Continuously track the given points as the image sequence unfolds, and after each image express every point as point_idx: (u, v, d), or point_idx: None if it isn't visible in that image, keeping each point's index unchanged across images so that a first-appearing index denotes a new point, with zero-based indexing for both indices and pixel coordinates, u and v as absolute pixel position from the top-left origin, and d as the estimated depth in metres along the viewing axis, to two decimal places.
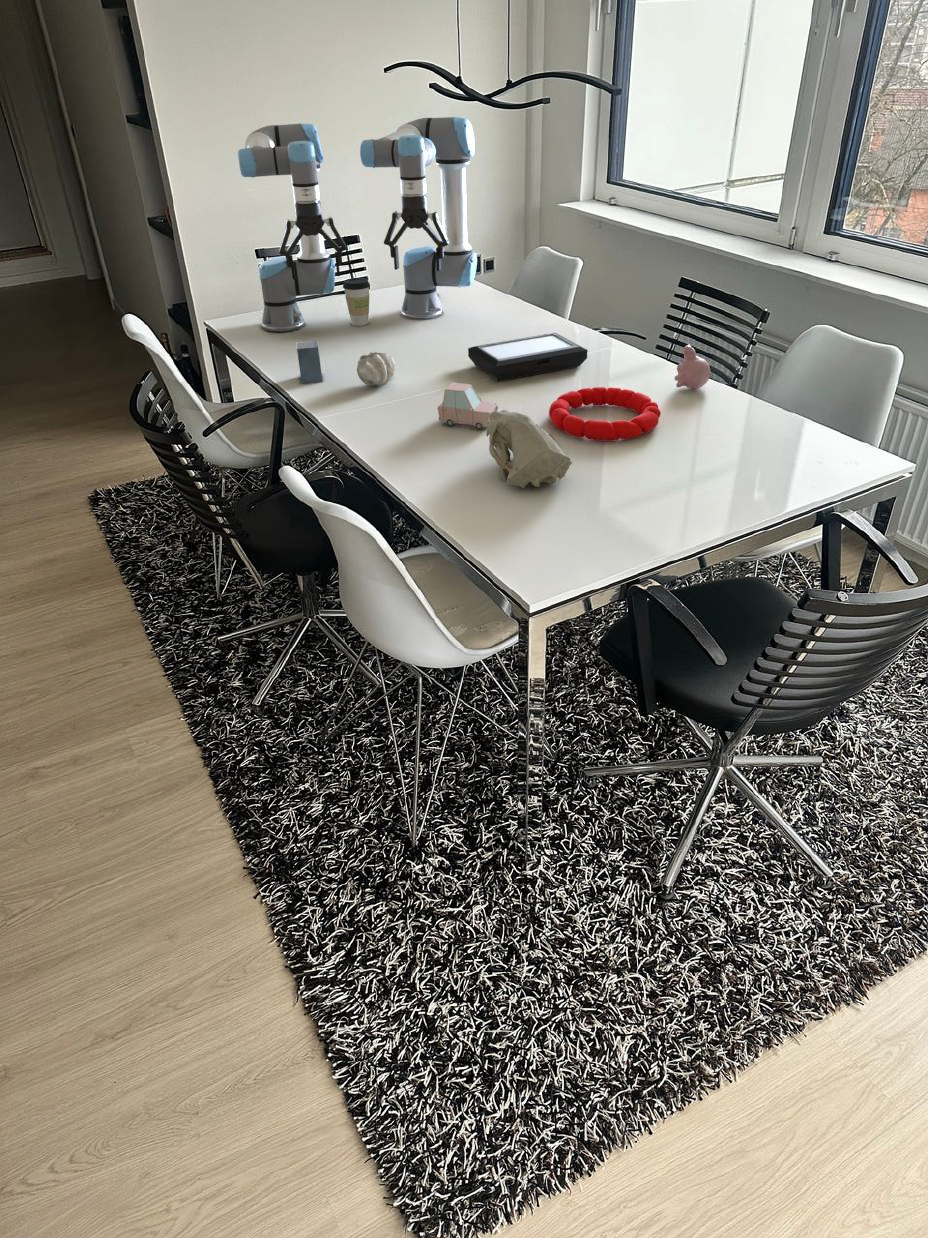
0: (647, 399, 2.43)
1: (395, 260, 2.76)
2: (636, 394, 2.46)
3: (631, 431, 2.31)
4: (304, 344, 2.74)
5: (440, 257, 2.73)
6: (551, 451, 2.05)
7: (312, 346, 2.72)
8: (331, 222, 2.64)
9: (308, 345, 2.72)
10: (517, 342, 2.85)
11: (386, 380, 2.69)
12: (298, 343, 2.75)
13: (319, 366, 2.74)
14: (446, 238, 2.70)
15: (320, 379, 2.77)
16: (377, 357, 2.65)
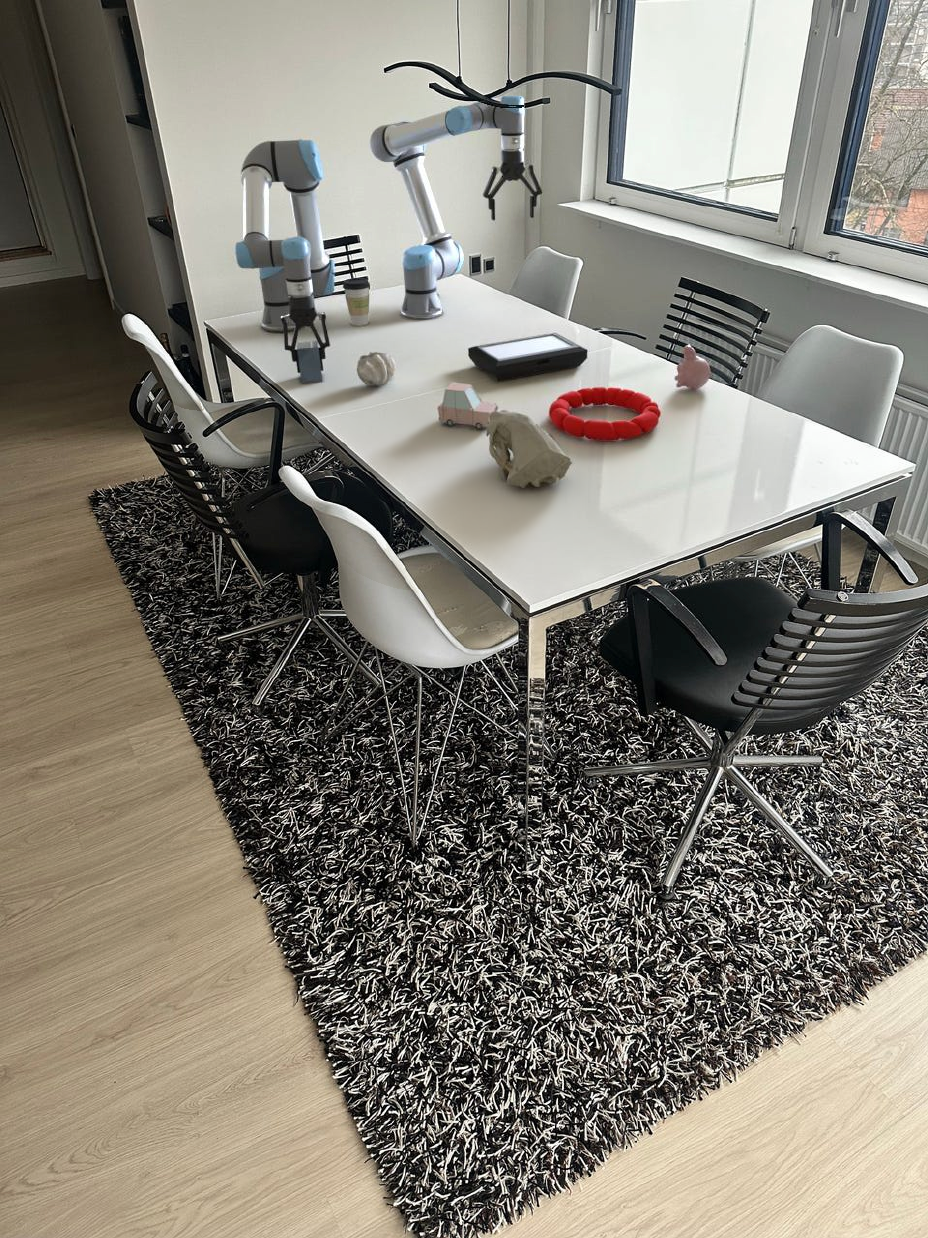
0: (647, 399, 2.43)
1: (494, 211, 3.04)
2: (636, 394, 2.46)
3: (631, 431, 2.31)
4: (304, 344, 2.74)
5: (534, 205, 3.06)
6: (551, 451, 2.05)
7: (312, 346, 2.72)
8: (323, 318, 2.69)
9: (308, 345, 2.72)
10: (517, 342, 2.85)
11: (386, 380, 2.69)
12: (298, 343, 2.75)
13: (319, 366, 2.74)
14: (539, 187, 3.04)
15: (320, 379, 2.77)
16: (377, 357, 2.65)
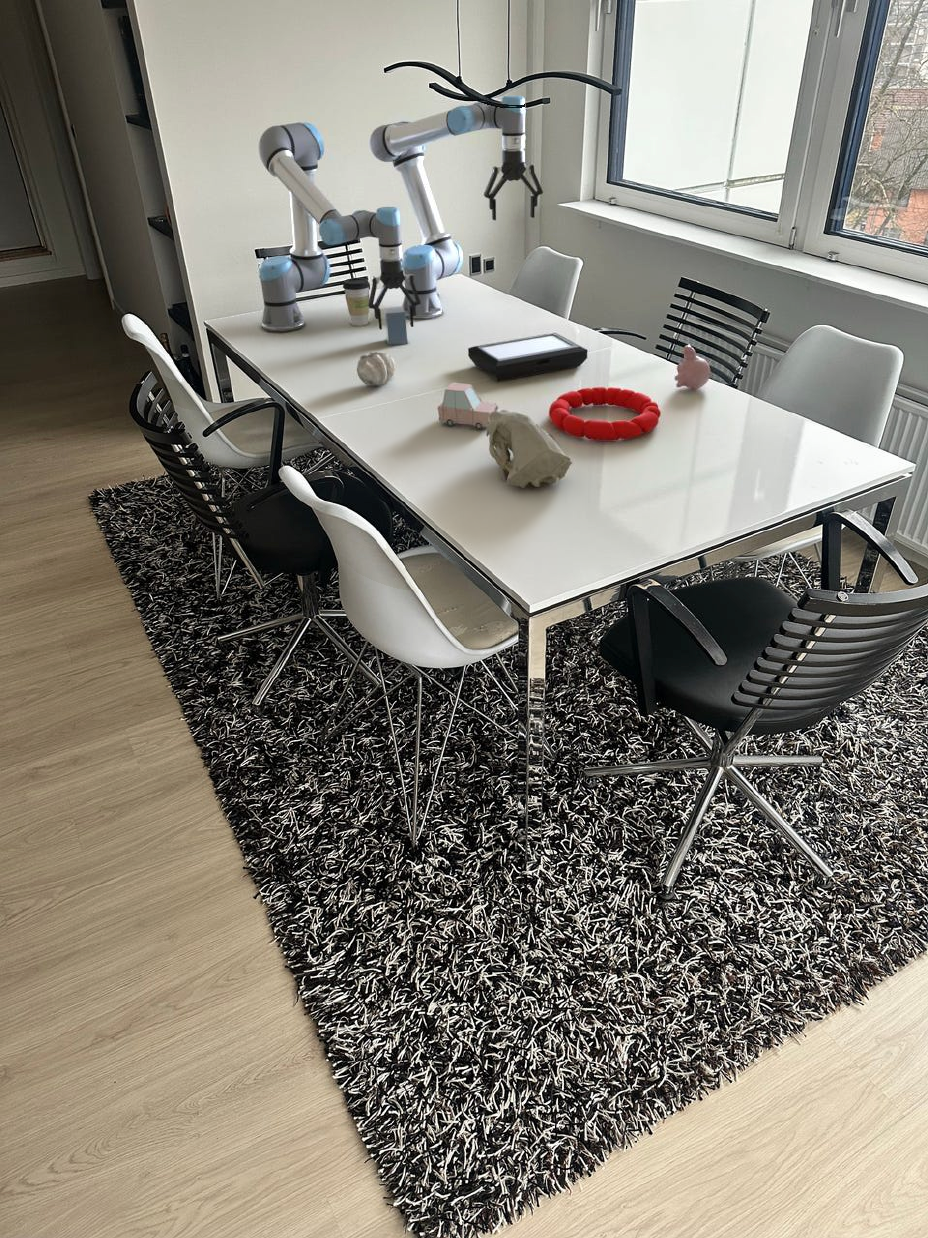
0: (647, 399, 2.43)
1: (495, 211, 3.05)
2: (636, 394, 2.46)
3: (631, 431, 2.31)
4: (392, 309, 3.02)
5: (535, 205, 3.07)
6: (551, 451, 2.05)
7: (399, 311, 3.00)
8: (411, 278, 2.96)
9: (396, 310, 3.01)
10: (517, 342, 2.85)
11: (386, 380, 2.69)
12: (386, 308, 3.03)
13: (405, 329, 3.03)
14: (540, 187, 3.04)
15: (405, 341, 3.05)
16: (377, 357, 2.65)
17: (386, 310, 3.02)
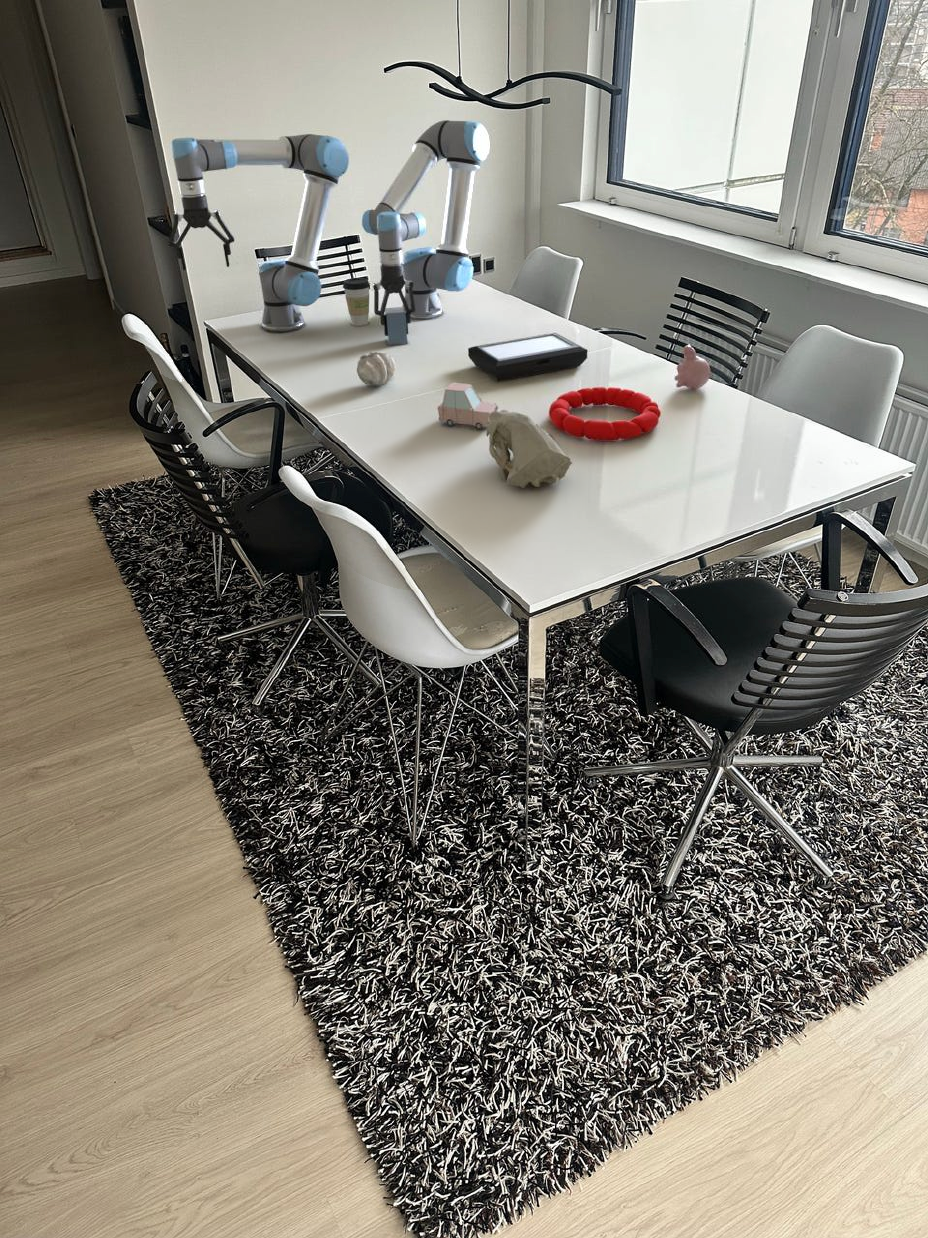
0: (647, 399, 2.43)
1: (386, 327, 3.03)
2: (636, 394, 2.46)
3: (631, 431, 2.31)
4: (392, 309, 3.02)
5: (408, 322, 3.04)
6: (551, 451, 2.05)
7: (400, 311, 3.00)
8: (217, 215, 2.77)
9: (396, 310, 3.01)
10: (517, 342, 2.85)
11: (386, 380, 2.69)
12: (386, 308, 3.03)
13: (405, 329, 3.03)
14: None
15: (405, 341, 3.05)
16: (377, 357, 2.65)
17: (386, 310, 3.02)
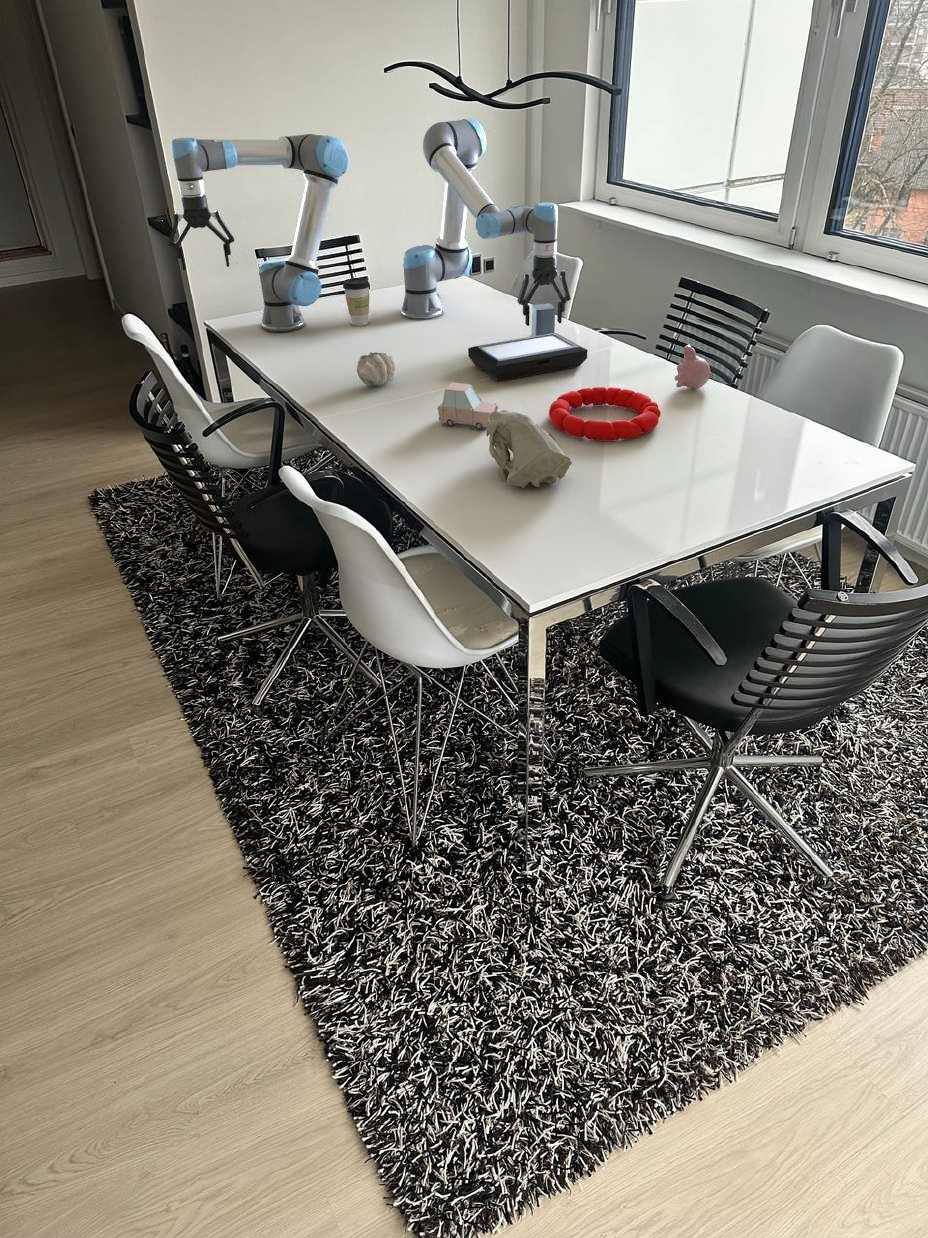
0: (647, 399, 2.43)
1: (528, 317, 3.00)
2: (636, 394, 2.46)
3: (631, 431, 2.31)
4: (540, 306, 3.01)
5: (562, 311, 3.01)
6: (551, 451, 2.05)
7: (549, 307, 2.99)
8: (217, 215, 2.77)
9: (545, 307, 2.99)
10: (517, 342, 2.85)
11: (386, 380, 2.69)
12: (534, 305, 3.02)
13: (553, 326, 3.01)
14: None
15: None
16: (377, 357, 2.65)
17: (535, 306, 3.00)
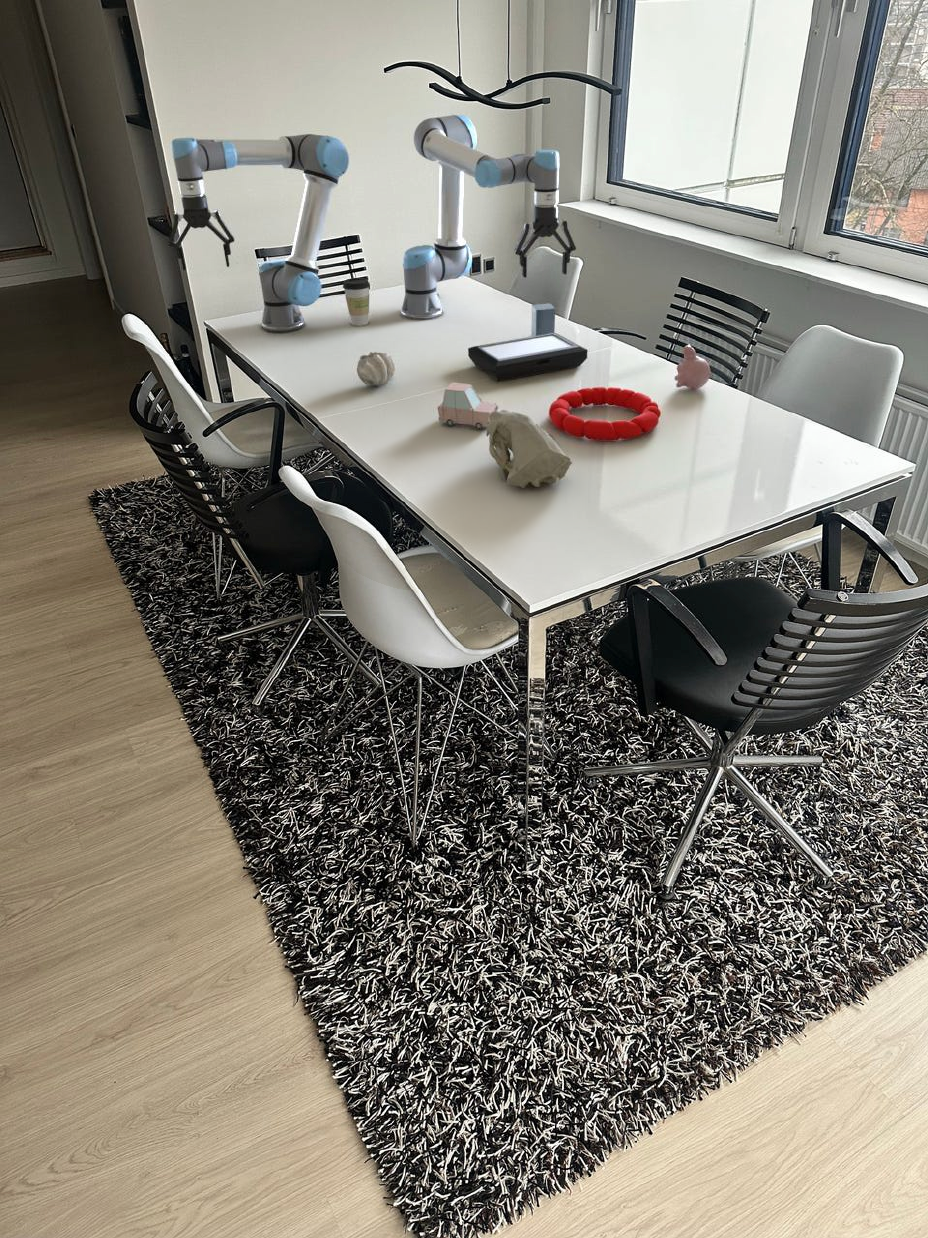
0: (647, 399, 2.43)
1: (525, 268, 2.91)
2: (636, 394, 2.46)
3: (631, 431, 2.31)
4: (540, 306, 3.01)
5: (567, 261, 2.93)
6: (551, 451, 2.05)
7: (549, 308, 2.99)
8: (217, 215, 2.77)
9: (545, 307, 2.99)
10: (517, 342, 2.85)
11: (386, 380, 2.69)
12: (534, 305, 3.02)
13: (553, 326, 3.01)
14: (573, 243, 2.90)
15: None
16: (377, 357, 2.65)
17: (535, 306, 3.00)
